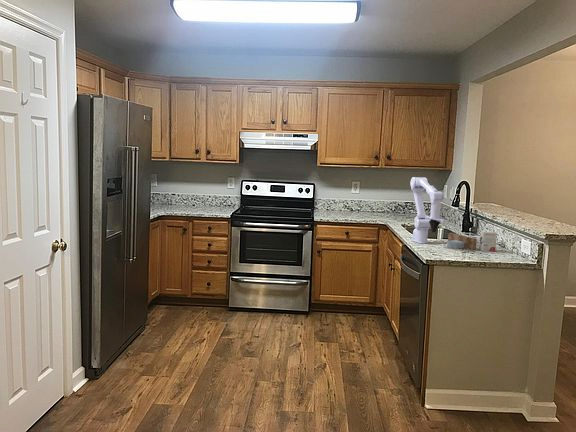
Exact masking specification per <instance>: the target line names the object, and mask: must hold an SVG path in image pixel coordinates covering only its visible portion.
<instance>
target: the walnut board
mask: <svg viewBox="0 0 576 432" xmlns="http://www.w3.org/2000/svg"><path fill="white" fill-rule="evenodd" d="M453 240H457V241H461V242H465V245H464V248H463V249H466V248H467V250H471V251H476V250H477V242H478V241H477V238H476V237H470V236H466V235H463V234H462V235H461V234H457V233H453V232H449V233H448V236H447V241H453Z"/></svg>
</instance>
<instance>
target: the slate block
mask: <svg viewBox="0 0 576 432" xmlns="http://www.w3.org/2000/svg"><path fill="white" fill-rule="evenodd" d="M464 245H465V242H461V241H457V240H453V241H448V240H447V241H446V248H450V249H453V248H454V250H459V248H460V249H465V248H464Z"/></svg>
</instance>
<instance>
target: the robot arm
mask: <svg viewBox="0 0 576 432" xmlns="http://www.w3.org/2000/svg"><path fill="white" fill-rule="evenodd" d="M409 185H410V188H411V191H412V195H413V198H414V204H415V209H416V213H417V214H416V216H415V217H414V219H413V220H414V227H415V228H414V229H413V231H412V239H411V242H415V243H418V244H430V243H431V241H428V236H429V230H430V229H431V233H436V232H437V230H438V227H439V225H440V224H441V223H442V224H443V223H446V220H445V218H441V207H442V206H441V205H442V201H444V192H443V191H438V189H436V187H435V185H430V183H429V182H428V178H426V177H425V176H424V177H421V176H420V177H416V176H413V177H411V179H410V183H409ZM424 191H425V193H426V194H427V195H428V196H429V198H430V215H428V214H426V211H425V205H424V199H423V195H422V192H424Z"/></svg>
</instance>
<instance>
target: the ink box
mask: <svg viewBox="0 0 576 432" xmlns="http://www.w3.org/2000/svg"><path fill="white" fill-rule="evenodd" d="M497 236H498V232H495V231H485V230H484V231H483V230H482V231H480V235H479V245H478V250H479V251H481V252H496V248H497Z"/></svg>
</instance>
